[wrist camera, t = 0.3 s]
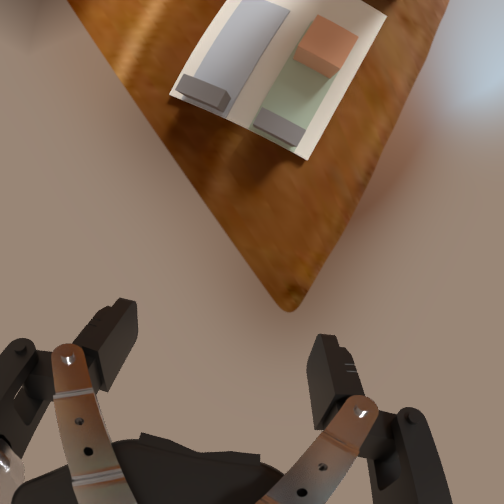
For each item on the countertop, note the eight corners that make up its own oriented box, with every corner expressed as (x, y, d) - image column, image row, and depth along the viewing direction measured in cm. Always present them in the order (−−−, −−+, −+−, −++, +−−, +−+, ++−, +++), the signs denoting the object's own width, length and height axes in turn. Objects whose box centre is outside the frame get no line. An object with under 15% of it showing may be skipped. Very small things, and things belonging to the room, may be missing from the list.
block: (310, 30, 27) (317, 14, 22) (346, 49, 27) (358, 36, 23) (292, 58, 28) (297, 45, 24) (329, 78, 29) (340, 68, 24)
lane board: (261, -39, 24) (261, -43, 23) (383, 19, 26) (386, 16, 25) (171, 96, 32) (169, 94, 31) (305, 160, 35) (307, 160, 33)
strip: (247, -5, 25) (244, -25, 20) (289, 12, 26) (294, -8, 21) (182, 99, 31) (168, 92, 26) (225, 118, 32) (219, 113, 27)
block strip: (311, 22, 27) (319, 3, 21) (353, 45, 27) (367, 30, 22) (248, 129, 32) (245, 125, 27) (293, 152, 33) (299, 153, 28)
